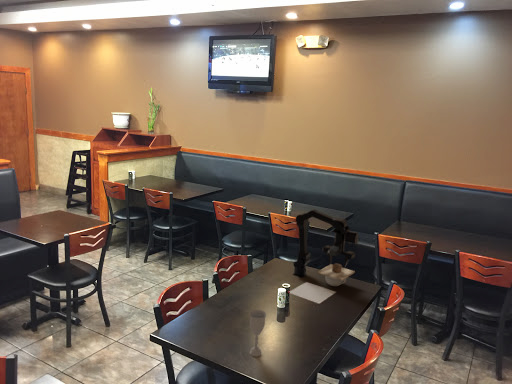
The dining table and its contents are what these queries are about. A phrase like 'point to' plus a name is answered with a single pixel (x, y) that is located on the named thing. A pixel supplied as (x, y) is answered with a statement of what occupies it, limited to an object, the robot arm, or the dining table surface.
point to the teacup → (334, 281)
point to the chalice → (256, 328)
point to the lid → (336, 271)
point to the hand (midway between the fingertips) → (337, 265)
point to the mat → (312, 292)
